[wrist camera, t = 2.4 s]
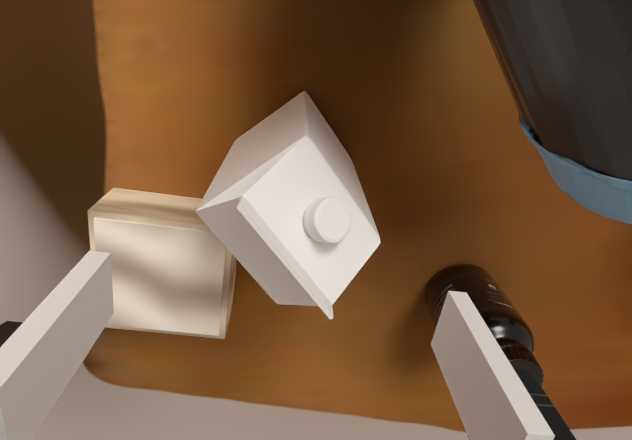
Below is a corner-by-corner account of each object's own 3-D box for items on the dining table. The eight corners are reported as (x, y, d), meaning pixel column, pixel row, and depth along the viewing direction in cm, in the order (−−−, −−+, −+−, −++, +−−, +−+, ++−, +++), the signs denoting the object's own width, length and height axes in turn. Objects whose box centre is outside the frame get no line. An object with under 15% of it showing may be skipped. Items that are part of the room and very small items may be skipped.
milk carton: (285, 204, 38) (272, 353, 21) (234, 139, 36) (172, 249, 19) (352, 160, 37) (397, 282, 20) (304, 89, 34) (308, 158, 17)
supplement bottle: (507, 283, 43) (577, 373, 32) (460, 329, 45) (511, 428, 34) (456, 249, 41) (512, 332, 30) (410, 299, 43) (446, 394, 32)
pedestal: (113, 187, 37) (86, 212, 32) (241, 203, 38) (233, 229, 33) (118, 293, 42) (94, 328, 37) (232, 305, 43) (224, 341, 38)
